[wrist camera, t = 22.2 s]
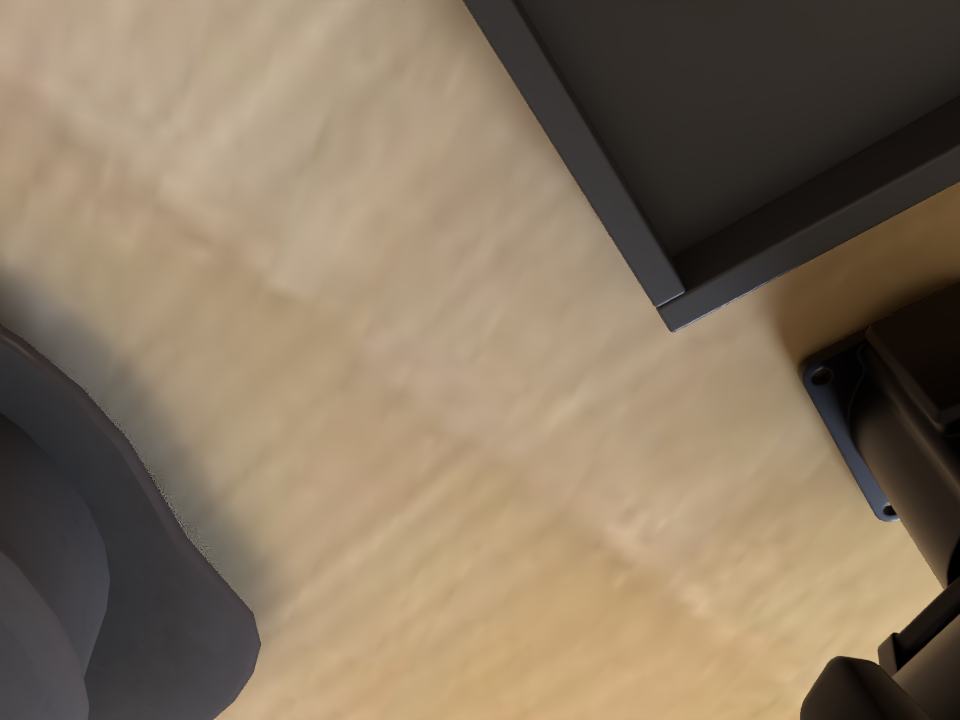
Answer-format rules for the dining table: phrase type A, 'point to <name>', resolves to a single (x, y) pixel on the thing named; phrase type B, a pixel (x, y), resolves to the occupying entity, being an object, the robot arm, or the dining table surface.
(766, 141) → the tray
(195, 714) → the casserole
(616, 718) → the dining table surface
